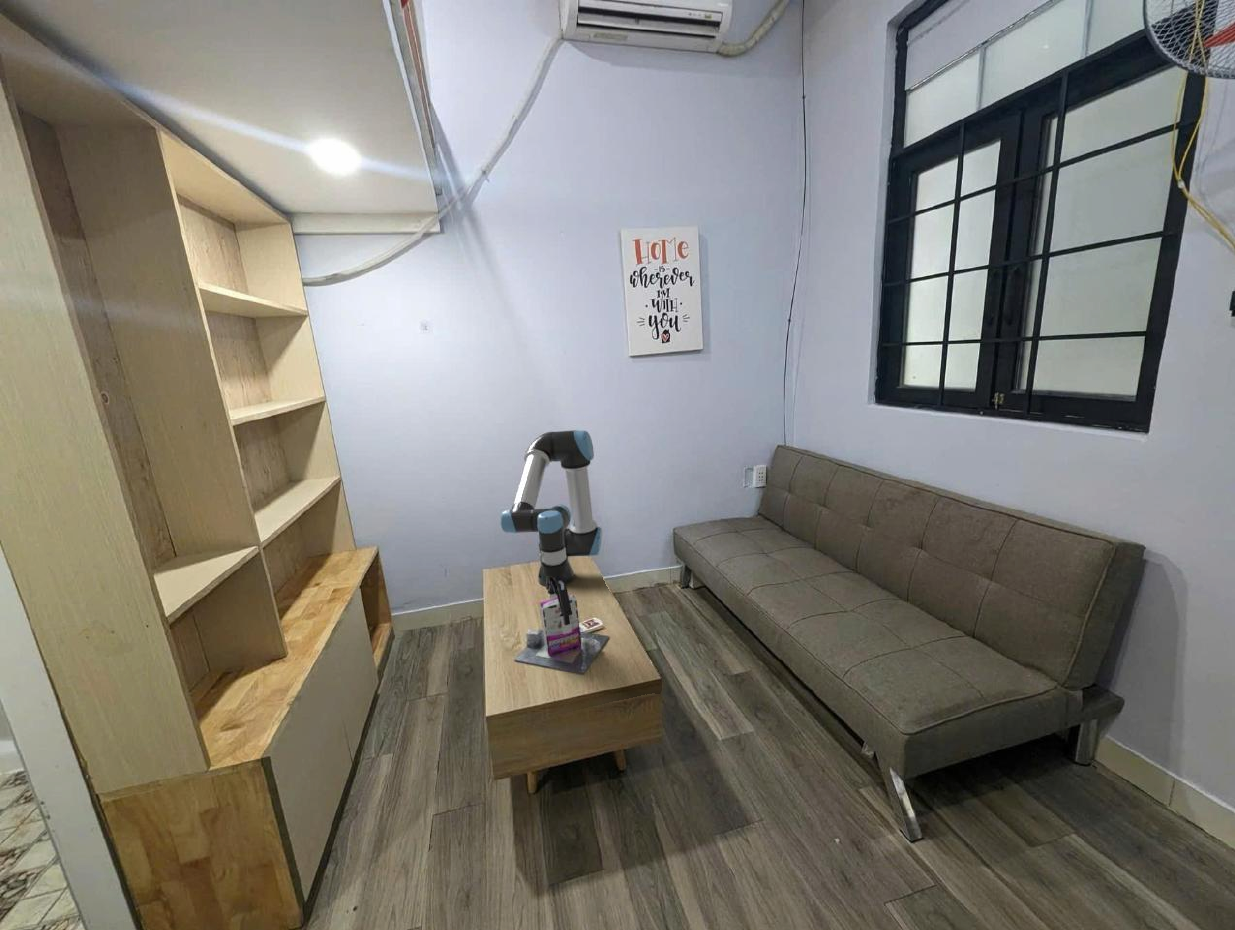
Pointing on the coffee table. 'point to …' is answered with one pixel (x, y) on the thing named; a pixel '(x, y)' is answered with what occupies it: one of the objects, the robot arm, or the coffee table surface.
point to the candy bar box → (559, 626)
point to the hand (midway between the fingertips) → (560, 622)
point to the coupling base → (562, 652)
